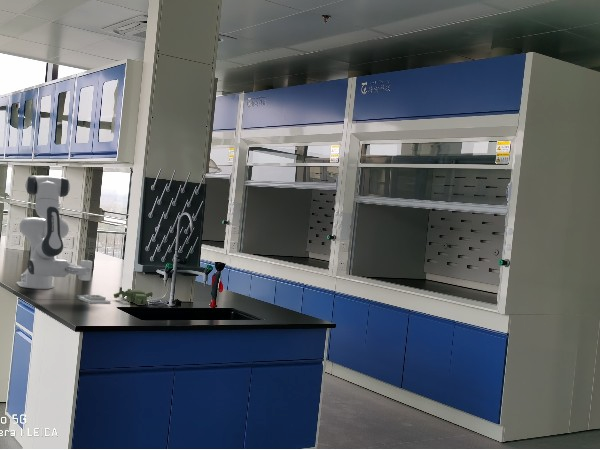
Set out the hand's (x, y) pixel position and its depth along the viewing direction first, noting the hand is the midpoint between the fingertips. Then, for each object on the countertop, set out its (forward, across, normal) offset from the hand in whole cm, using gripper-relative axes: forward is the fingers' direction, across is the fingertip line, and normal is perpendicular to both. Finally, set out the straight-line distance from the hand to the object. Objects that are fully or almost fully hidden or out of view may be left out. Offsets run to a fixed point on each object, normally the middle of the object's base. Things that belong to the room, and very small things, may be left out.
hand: (87, 269), depth 353 cm
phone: (+7, +8, +17) cm, 20 cm away
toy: (+28, -1, +17) cm, 33 cm away
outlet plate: (+6, 0, +17) cm, 18 cm away
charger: (-1, 0, +6) cm, 6 cm away
